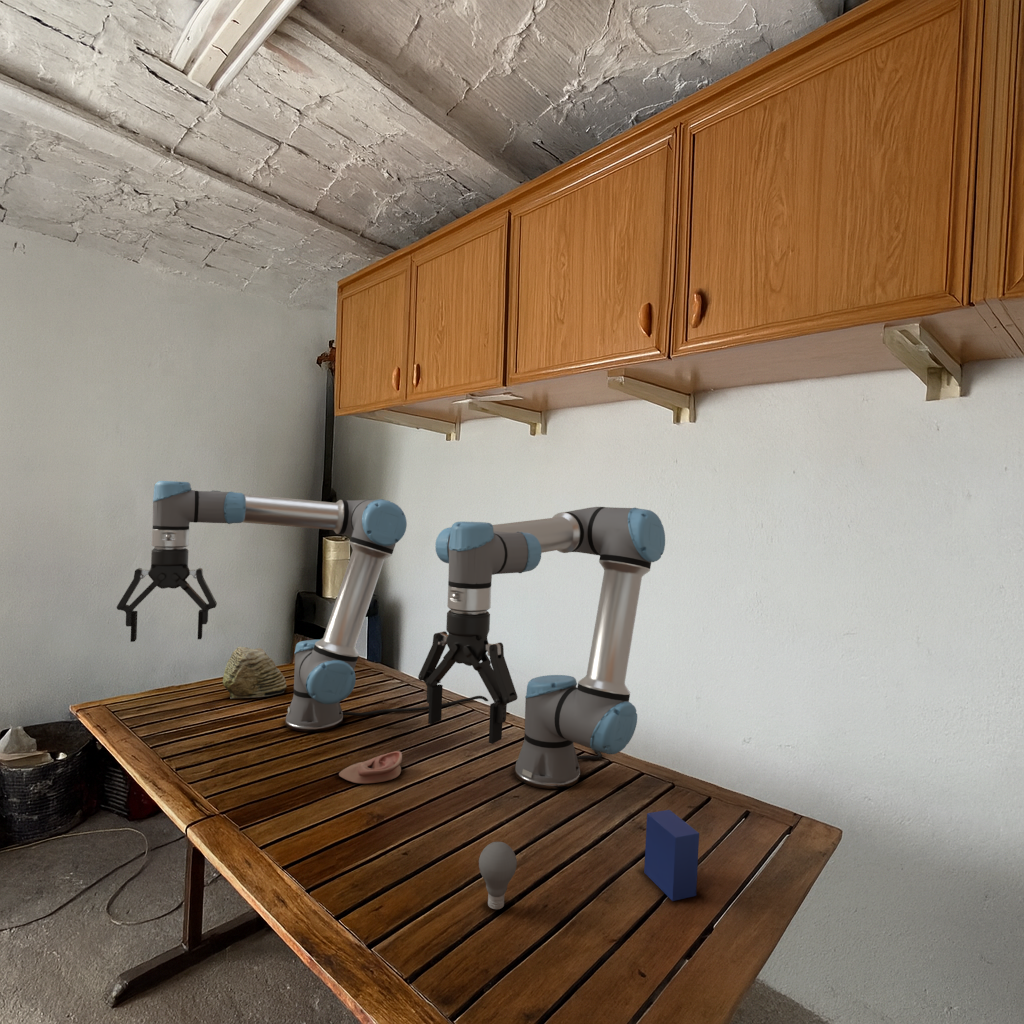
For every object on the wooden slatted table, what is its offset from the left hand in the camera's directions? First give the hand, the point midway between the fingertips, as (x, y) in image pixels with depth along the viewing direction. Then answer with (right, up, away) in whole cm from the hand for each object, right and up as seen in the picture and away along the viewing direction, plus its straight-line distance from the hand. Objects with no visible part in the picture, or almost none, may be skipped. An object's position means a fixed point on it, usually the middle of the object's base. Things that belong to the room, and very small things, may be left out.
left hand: (167, 639), depth 147 cm
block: (+107, -34, -38) cm, 118 cm away
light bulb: (+77, -33, -47) cm, 96 cm away
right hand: (+71, -9, -36) cm, 80 cm away
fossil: (-1, -28, +51) cm, 58 cm away
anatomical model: (+47, -31, -1) cm, 57 cm away
